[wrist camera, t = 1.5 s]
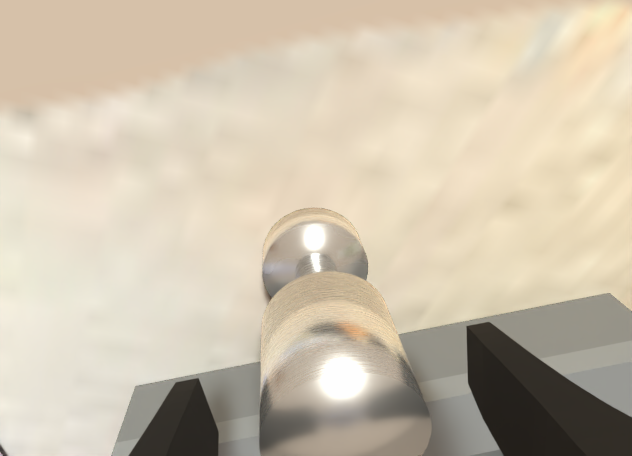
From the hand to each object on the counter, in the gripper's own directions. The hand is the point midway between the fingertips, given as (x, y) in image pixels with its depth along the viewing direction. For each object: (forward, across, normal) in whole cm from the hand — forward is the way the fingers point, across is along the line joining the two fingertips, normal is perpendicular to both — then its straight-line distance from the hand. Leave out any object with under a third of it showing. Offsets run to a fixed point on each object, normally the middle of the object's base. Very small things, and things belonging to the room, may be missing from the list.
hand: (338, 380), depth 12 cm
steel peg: (+7, 0, 0) cm, 7 cm away
